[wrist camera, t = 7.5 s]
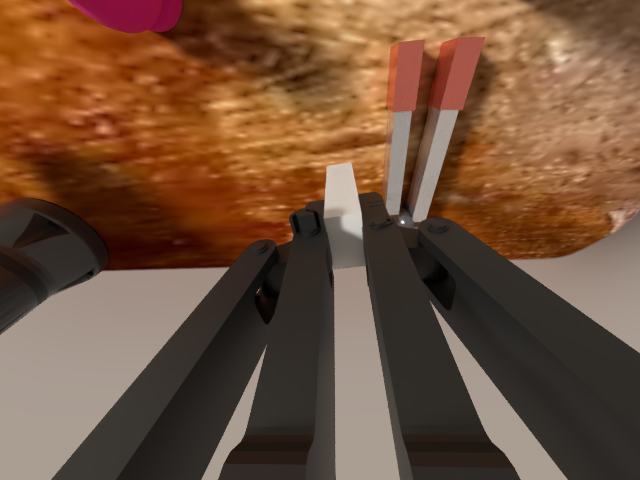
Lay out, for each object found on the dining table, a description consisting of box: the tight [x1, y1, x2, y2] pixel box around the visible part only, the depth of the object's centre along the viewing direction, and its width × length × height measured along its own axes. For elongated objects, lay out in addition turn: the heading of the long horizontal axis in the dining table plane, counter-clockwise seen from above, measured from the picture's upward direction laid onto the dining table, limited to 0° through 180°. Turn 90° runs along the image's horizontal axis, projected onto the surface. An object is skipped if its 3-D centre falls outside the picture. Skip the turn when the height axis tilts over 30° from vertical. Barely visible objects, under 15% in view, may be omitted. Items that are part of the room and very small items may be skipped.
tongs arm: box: [382, 40, 425, 215], centre depth 25 cm, size 16×2×4 cm, turn 5°
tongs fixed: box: [389, 37, 485, 228], centre depth 25 cm, size 20×5×4 cm, turn 0°
